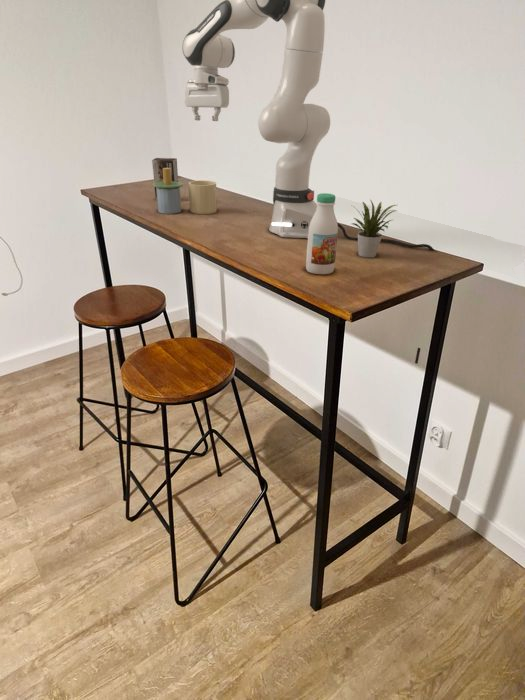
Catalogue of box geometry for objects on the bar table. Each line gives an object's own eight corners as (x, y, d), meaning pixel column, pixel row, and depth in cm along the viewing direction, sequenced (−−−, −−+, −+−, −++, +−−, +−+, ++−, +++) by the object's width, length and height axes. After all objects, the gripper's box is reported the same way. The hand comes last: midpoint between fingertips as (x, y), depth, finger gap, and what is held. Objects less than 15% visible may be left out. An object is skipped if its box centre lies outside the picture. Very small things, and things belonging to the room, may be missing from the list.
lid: (187, 185, 184) (186, 167, 180) (176, 190, 174) (174, 171, 171) (160, 183, 186) (159, 165, 183) (147, 188, 176) (145, 169, 173)
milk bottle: (300, 271, 128) (305, 194, 118) (314, 263, 134) (319, 190, 124) (325, 277, 125) (333, 199, 115) (338, 269, 130) (346, 194, 120)
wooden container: (220, 209, 189) (219, 181, 184) (211, 214, 181) (210, 186, 176) (195, 206, 192) (194, 179, 186) (186, 212, 183) (184, 184, 178)
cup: (184, 209, 187) (183, 185, 183) (175, 214, 180) (174, 190, 175) (164, 207, 189) (162, 184, 185) (154, 212, 181) (152, 188, 177)
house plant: (404, 256, 142) (414, 200, 134) (378, 266, 133) (387, 207, 125) (365, 245, 151) (372, 192, 143) (338, 254, 142) (344, 198, 134)
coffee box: (179, 197, 206) (177, 158, 198) (176, 201, 200) (173, 160, 192) (159, 196, 207) (156, 157, 199) (154, 200, 201) (151, 159, 193)
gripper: (180, 79, 179) (181, 119, 185) (220, 77, 168) (219, 121, 174) (192, 80, 184) (193, 120, 190) (232, 79, 173) (231, 121, 179)
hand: (206, 120), depth 182 cm, fingers open, 8 cm apart
